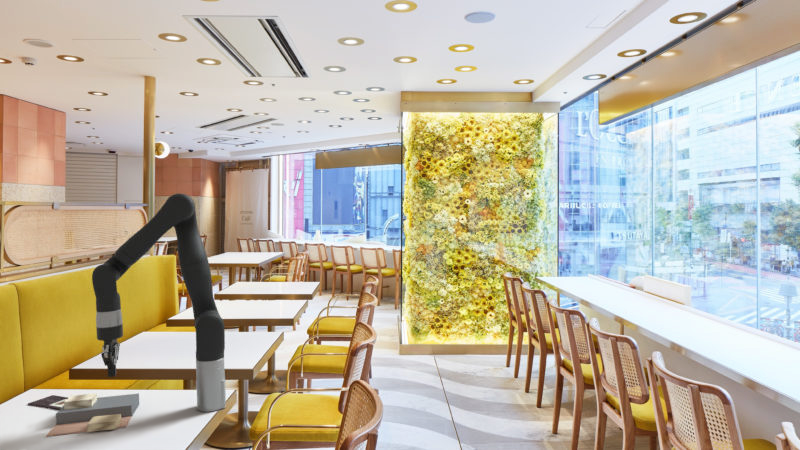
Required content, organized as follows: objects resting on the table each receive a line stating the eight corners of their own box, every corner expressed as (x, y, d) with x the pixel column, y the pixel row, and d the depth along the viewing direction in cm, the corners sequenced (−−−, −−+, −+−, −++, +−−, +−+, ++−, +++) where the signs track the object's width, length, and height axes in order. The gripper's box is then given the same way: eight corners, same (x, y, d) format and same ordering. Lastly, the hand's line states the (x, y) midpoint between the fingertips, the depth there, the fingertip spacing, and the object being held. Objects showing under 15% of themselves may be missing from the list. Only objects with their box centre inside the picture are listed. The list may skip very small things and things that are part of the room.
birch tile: (97, 400, 177) (96, 393, 177) (91, 406, 171) (91, 399, 171) (70, 403, 175) (70, 395, 174) (64, 409, 169) (64, 402, 169)
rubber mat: (131, 417, 171) (131, 416, 171) (125, 427, 164) (125, 425, 163) (55, 426, 165) (55, 424, 165) (46, 436, 157) (46, 435, 157)
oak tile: (115, 420, 161) (115, 428, 161) (121, 413, 167) (121, 421, 167) (87, 423, 159) (87, 431, 159) (93, 416, 165) (93, 424, 165)
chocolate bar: (52, 395, 193) (86, 400, 187) (52, 397, 193) (86, 403, 187) (27, 403, 185) (62, 409, 178) (27, 406, 185) (62, 412, 178)
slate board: (139, 404, 183) (138, 393, 183) (131, 417, 172) (131, 405, 172) (68, 412, 177) (68, 400, 177) (56, 425, 166) (55, 413, 165)
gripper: (117, 327, 164) (119, 381, 164) (126, 318, 176) (129, 368, 177) (90, 329, 162) (93, 384, 162) (102, 321, 174) (105, 371, 175)
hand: (112, 376), depth 169 cm, fingers closed
